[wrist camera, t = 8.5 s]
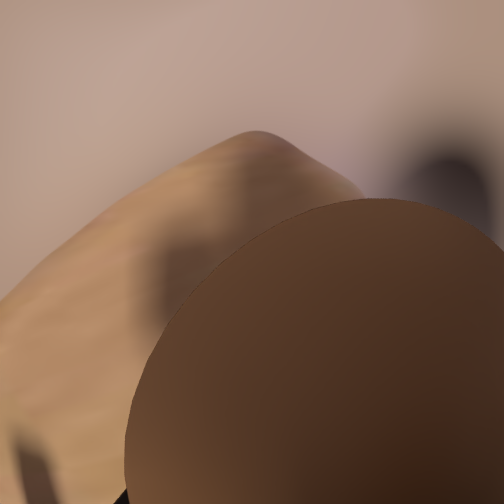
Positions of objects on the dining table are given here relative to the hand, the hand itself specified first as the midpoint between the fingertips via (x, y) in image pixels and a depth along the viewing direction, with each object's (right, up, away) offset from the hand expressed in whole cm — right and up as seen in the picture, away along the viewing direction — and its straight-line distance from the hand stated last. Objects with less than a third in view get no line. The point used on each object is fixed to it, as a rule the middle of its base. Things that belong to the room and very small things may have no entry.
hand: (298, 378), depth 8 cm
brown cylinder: (0, -4, +5) cm, 7 cm away
